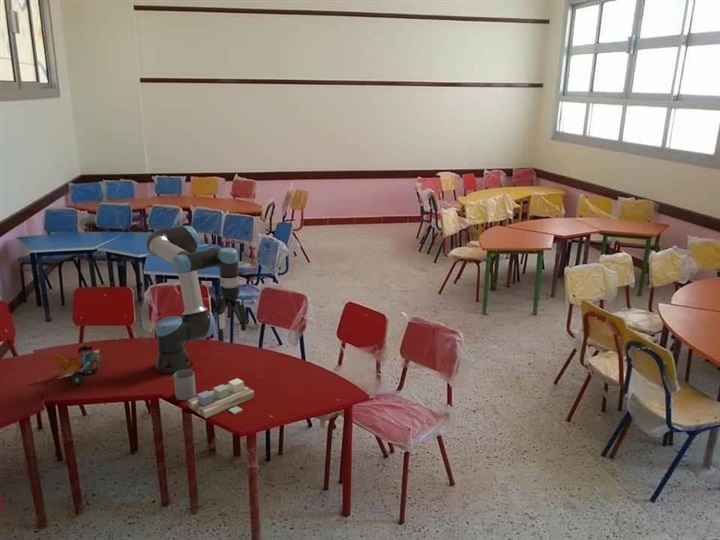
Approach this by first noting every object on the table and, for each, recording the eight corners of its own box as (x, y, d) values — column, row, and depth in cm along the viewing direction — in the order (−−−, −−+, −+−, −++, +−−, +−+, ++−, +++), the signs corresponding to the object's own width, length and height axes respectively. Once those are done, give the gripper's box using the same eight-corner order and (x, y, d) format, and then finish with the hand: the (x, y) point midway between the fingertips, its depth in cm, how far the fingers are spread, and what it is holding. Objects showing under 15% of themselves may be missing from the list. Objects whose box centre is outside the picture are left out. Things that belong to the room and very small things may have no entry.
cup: (199, 394, 248) (197, 373, 245) (182, 402, 242) (180, 380, 239) (188, 388, 253) (186, 367, 250) (171, 395, 247) (169, 374, 244)
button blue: (197, 404, 236) (197, 394, 235) (207, 400, 239) (206, 390, 238) (203, 408, 233) (203, 398, 232) (213, 404, 236) (212, 394, 235)
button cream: (229, 391, 247) (228, 381, 245) (238, 387, 250) (237, 378, 248) (235, 394, 244) (234, 385, 242) (244, 391, 247) (243, 381, 245)
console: (188, 406, 238) (187, 400, 237) (236, 386, 255) (236, 380, 254) (205, 418, 230) (205, 412, 229) (254, 397, 246) (254, 391, 245)
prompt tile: (228, 410, 235) (228, 409, 235) (237, 407, 238) (236, 405, 238) (234, 414, 233) (234, 413, 233) (242, 410, 236) (242, 409, 235)
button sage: (213, 397, 241) (213, 387, 240) (223, 393, 245) (222, 384, 243) (219, 401, 238) (219, 391, 237) (229, 397, 242) (228, 387, 240)
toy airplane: (90, 388, 246) (75, 357, 242) (45, 399, 250) (30, 369, 247) (126, 358, 273) (113, 329, 270) (85, 368, 278) (72, 340, 275)
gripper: (204, 280, 245) (207, 327, 251) (241, 295, 229) (243, 344, 236) (219, 276, 250) (221, 322, 257) (256, 290, 235) (258, 338, 241)
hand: (232, 332), depth 246 cm, fingers open, 13 cm apart
